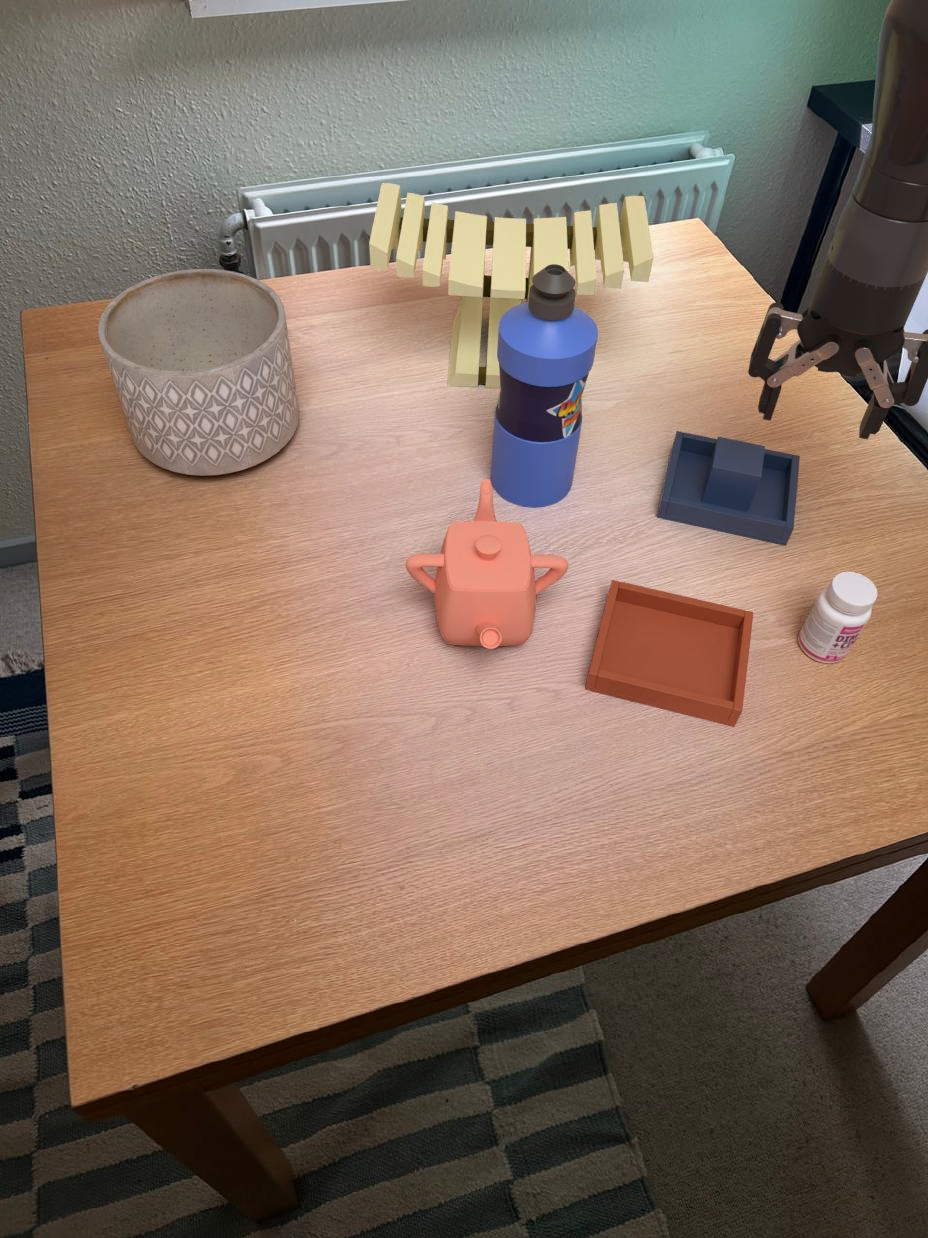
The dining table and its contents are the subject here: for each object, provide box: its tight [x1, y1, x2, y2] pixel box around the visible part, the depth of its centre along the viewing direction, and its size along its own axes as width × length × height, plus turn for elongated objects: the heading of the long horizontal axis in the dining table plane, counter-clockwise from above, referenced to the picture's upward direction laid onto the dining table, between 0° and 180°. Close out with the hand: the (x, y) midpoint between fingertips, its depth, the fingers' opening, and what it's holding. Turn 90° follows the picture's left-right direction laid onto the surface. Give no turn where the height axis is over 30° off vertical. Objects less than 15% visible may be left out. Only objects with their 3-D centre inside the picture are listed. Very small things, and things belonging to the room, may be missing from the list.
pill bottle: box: [797, 571, 878, 664], centre depth 84 cm, size 5×5×8 cm
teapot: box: [405, 478, 569, 650], centre depth 85 cm, size 14×12×10 cm
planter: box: [97, 268, 300, 477], centre depth 99 cm, size 19×19×14 cm
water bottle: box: [489, 264, 599, 508], centre depth 91 cm, size 9×9×25 cm
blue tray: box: [656, 430, 801, 546], centre depth 99 cm, size 14×12×3 cm
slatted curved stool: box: [368, 182, 654, 389], centre depth 108 cm, size 30×16×18 cm, turn 87°
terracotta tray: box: [584, 579, 754, 728], centre depth 85 cm, size 14×12×3 cm
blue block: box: [702, 436, 766, 511], centre depth 98 cm, size 5×5×5 cm
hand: (815, 424), depth 83 cm, fingers open, 8 cm apart
